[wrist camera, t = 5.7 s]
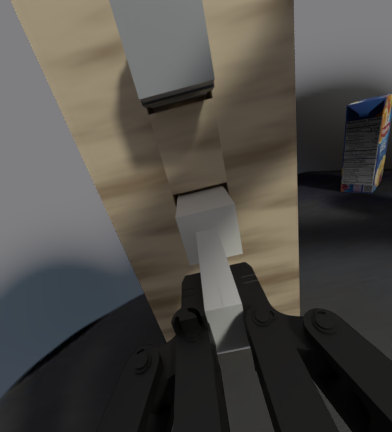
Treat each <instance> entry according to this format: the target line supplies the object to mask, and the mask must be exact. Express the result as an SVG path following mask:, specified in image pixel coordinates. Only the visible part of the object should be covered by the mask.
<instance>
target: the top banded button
mask: <svg viewBox="0 0 392 432" xmlns="http://www.w3.org/2000/svg"><path fill="white" fill-rule="evenodd" d="M109 2H110V5H111V9H112V12H113V15H114V18H115V22H116V25H117V28H118V32H119V35H120V38H121V41H122V45H123V48H124V51H125V55H126V58H127V61H128V64H129V68H130V71H131V74H132V77H133V81H134V84H135V87H136V91H137V94H138V97H139V100H141V103H142V106H143V107H145V108H148V107H151V108H152V109H153V108H157V107H161V106H165V105H169V104H172V103H176V102H180V101H184V100H188V99H191V98H195V97H199V96H203V95H206V94H207V92H208V91H212V90H213V89H214V87H215V86H214V80H215V77H214V71H213V64H212V58H211V52H210V46H209V40H208V33H207V27H206V21H205V15H204V9H203V2H202V0H109Z"/></svg>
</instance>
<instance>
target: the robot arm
mask: <svg viewBox="0 0 392 432" xmlns="http://www.w3.org/2000/svg"><path fill="white" fill-rule="evenodd" d="M196 238H197V247H198V256H199V265H200V273H195V274H191V275H186V276H185V277H184V279H183V281H182V284H181V291H182V292H181V308H180V309H179V310H178V311H176V313H175V314H174V316H173V317H172V321H171V324H172V327H173V329H174V332H175V334H176V335H175V336H174V337H173V338H172V339H171V340H170V341H168V342H167V343H165V344H163V345H162V346H160V347H158V348H155V346H152V345H143V346H141V347H139V348H138V349H136V350H135V351H134V352H133V353H132V354H131V355H130V357H129V359H128V360H127V362H126V364H125V367H124V369H123V371H122V373H121V376H120V378H119V380H118V382H117V385H116V387H115V389H114V391H113V394H112V396H111V398H110V400H109V403H108V405H107V407H106V409H105V412H104V414H103V416H102V418H101V421H100V423H99V425H98V427H97V430H96V432H171V430H172V425H173V420H174V427H173V432H230V427H229V421H228V414H227V408H226V401H225V395H224V388H223V382H222V375H221V369H220V365H219V362H218V356H217V353H221V352H225V351H230V350H235V349H240V348H245V347H250V348H251V351H252V355H253V361H254V366H255V371H257V374H258V378H259V381H260V384H261V388H262V391H263V394H264V398H265V401H266V404H267V408H268V411H269V414H270V418H271V421H272V425H273V428H274V431H275V432H339V431H338V429H337V427H336V425H335V423H334V421H333V419H332V417H331V415H330V413H329V411H328V409H327V407H326V405H325V403H324V401H323V399H322V397H321V396H320V394H319V392H318V390H317V388H316V386H315V384H314V382H315V383H316V384H317V386H318V387H319V388H320V390H321V391H322V392H323V394H324V395H325V396H326V398H327V399H328V400H329V402H330V403H331V404H332V406H333V407H334V408H335V410H336V411H337V412H338V414H339V415H340V416H341V418H342V419H343V420H344V422H345V423H346V424H347V426H348V427H349V428H350V430H351V431H352V432H392V361H391V360H390V359H389V358H388V357H386V356H385V355H384V354H383V353H382V352H380V351H379V350H378V349H377V348H376V347H375V346H373V345H372V344H371V343H370V342H369V341H367V340H366V339H365V338H364V337H363V336H362V335H360V334H359V333H358V332H357V331H356V330H354V329H353V328H352V327H351V326H350V325H349V324H347V323H346V322H345V321H344V320H343V319H341V318H340V317H339V316H338V315H336V314H334V313H333V312H331V311H328V310H325V309H318V308H315V309H311V310H309V311H308V312H306V313H305V315H304V317H303V316H291V315H286V314H283V313H280V312H279V311H277V310H275V309H274V308H273V307H272V306H271V304H270V303H269V301H268V299H267V297H266V295H265V293H264V291H263V289H262V287H261V285H260V283H259V281H258V279H257V277H256V275H255V272H254V270H253V268H252V267H251V266H250V265H249V264H248V263H246V262H241V263H237V264H233V265H229V263H228V260H227V257H226V254H225V251H224V248H223V245H222V242H221V239H220V236H219V233H218V230H217V228H213V229H209V230H205V231H200V232H196ZM312 379H313V380H314V382H313V380H312Z"/></svg>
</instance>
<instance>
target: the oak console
mask: <svg viewBox="0 0 392 432" xmlns="http://www.w3.org/2000/svg"><path fill="white" fill-rule="evenodd" d="M11 2H12V5H13V7H14V9H15V11H16V13H17V16H18V18H19V20H20V22H21V24H22V27H23V29H24V31H25V33H26V35H27V38H28V40H29V42H30V44H31V46H32V49H33V51H34V53H35V55H36V57H37V60H38V62H39V64H40V66H41V68H42V70H43V73H44V75H45V77H46V79H47V81H48V84H49V86H50V88H51V90H52V92H53V95H54V97H55V99H56V101H57V103H58V105H59V108H60V110H61V112H62V114H63V116H64V118H65V121H66V123H67V125H68V127H69V130H70V132H71V134H72V136H73V138H74V140H75V143H76V145H77V147H78V149H79V151H80V154H81V156H82V158H83V160H84V162H85V165H86V167H87V169H88V171H89V173H90V175H91V178H92V180H93V182H94V184H95V186H96V189H97V191H98V193H99V195H100V197H101V199H102V201H103V204H104V206H105V208H106V210H107V213H108V215H109V217H110V219H111V221H112V224H113V226H114V228H115V230H116V232H117V235H118V237H119V239H120V241H121V243H122V245H123V247H124V250H125V252H126V254H127V256H128V259H129V261H130V263H131V265H132V267H133V270H134V272H135V274H136V276H137V278H138V280H139V283H140V285H141V287H142V289H143V291H144V294H145V296H146V298H147V300H148V302H149V305H150V307H151V309H152V311H153V313H154V316H155V318H156V320H157V322H158V324H159V326H160V329H161V331H162V333H163V335H164V337H165V340H166V342H168V341H170V340H171V339H172V338H173V337H174V336H175V335H176V334H175V332H174V329H173V327H172V324H171V321H172V317H173V316H174V314H175V313H176V311H178V310H179V309H180V308H181V292H182V291H181V284H182V281H183V279H184V277H185V276H186V275H191V274H195V273H200V265H199V264H195V265H190V264H189V261H188V258H187V254H186V251H185V248H184V245H183V241H182V238H181V235H180V232H179V228H178V225H177V222H176V218H175V216H176V208H177V199H178V196H182V195H186V194H190V193H194V192H199V191H203V190H207V189H211V188H215V187H219V186H223V187H224V188H225V190H226V191H227V193H228V194H229V196H230V197H231V199H232V200H233V202H234V203H235V207H236V213H237V219H238V226H239V232H240V238H241V244H242V250H243V254H240V255H235V256H231V257H227V260H228V263H229V265H233V264H237V263H241V262H246V263H248V264H249V265H250V266H251V267H252V268H253V270H254V272H255V275H256V277H257V279H258V281H259V283H260V285H261V287H262V289H263V291H264V293H265V295H266V297H267V299H268V301H269V303H270V304H271V306H272V307H273V308H274V309H275V310H277V311H279V312H280V313H283V314H286V315H291V316H300V294H299V245H298V196H297V150H296V149H297V148H296V98H295V50H294V0H202V2H203V9H204V15H205V21H206V27H207V33H208V40H209V46H210V52H211V58H212V64H213V71H214V77H215V80H214V86H215V87H214V89H213V90H212V91H208V92H207V94H206V95H203V96H199V97H195V98H191V99H188V100H184V101H180V102H176V103H172V104H169V105H165V106H161V107H157V108H153V109H152V108H151V107H148V108H145V107H143V106H142V103H141V100H139V97H138V94H137V91H136V87H135V84H134V81H133V77H132V74H131V71H130V68H129V64H128V61H127V58H126V55H125V51H124V48H123V45H122V41H121V38H120V35H119V32H118V28H117V25H116V22H115V18H114V15H113V12H112V9H111V5H110V2H109V0H11Z"/></svg>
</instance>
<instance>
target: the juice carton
mask: <svg viewBox="0 0 392 432" xmlns="http://www.w3.org/2000/svg"><path fill="white" fill-rule="evenodd" d="M391 117H392V94H387V95H382V96H378V97H373V98H369V99H364V100H359V101H357V102H354V103H352V104H349V105H347V110H346V125H345V138H344V152H343V164H342V178H341V191H340V192H352V193H368V194H372V193H373V192H374V190H375V189H376V187H377V186H378V184H379V183H380V181H381V180H382V174H383V167H384V160H385V155H386V148H387V142H388V135H389V130H390V123H391Z"/></svg>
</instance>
